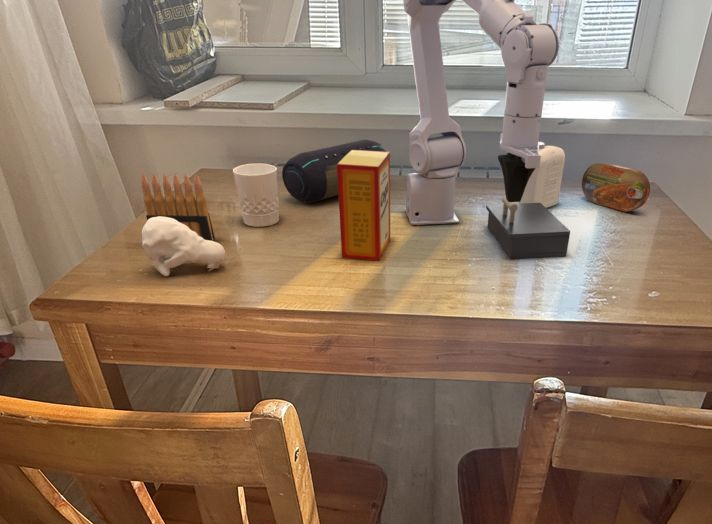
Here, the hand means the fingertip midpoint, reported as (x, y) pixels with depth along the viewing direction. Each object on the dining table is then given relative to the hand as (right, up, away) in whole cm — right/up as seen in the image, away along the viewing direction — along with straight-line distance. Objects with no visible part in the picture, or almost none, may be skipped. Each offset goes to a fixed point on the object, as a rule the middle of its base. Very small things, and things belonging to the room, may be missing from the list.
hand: (513, 200), depth 96 cm
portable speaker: (-33, +10, +32) cm, 47 cm away
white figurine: (-53, -12, -3) cm, 54 cm away
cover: (+3, -2, +8) cm, 9 cm away
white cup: (-46, 0, +16) cm, 49 cm away
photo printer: (+10, +5, +26) cm, 28 cm away
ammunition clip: (-58, -6, +7) cm, 58 cm away
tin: (+26, +6, +28) cm, 38 cm away
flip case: (+4, -5, +10) cm, 12 cm away
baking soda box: (-25, -7, +6) cm, 27 cm away
